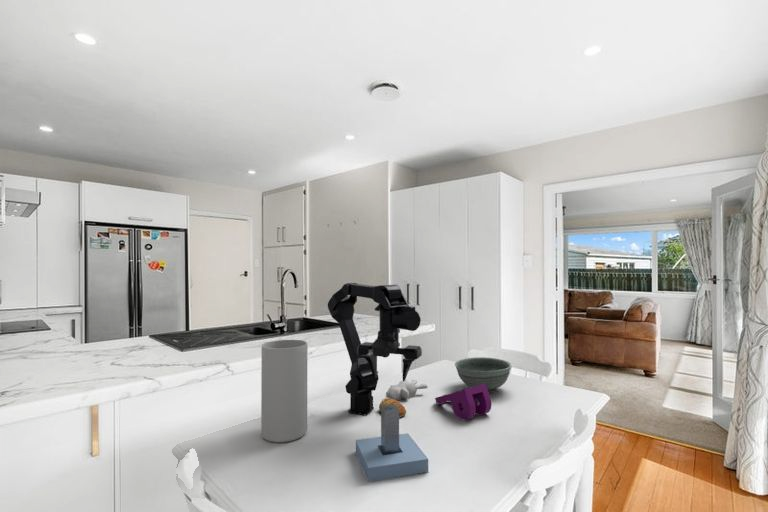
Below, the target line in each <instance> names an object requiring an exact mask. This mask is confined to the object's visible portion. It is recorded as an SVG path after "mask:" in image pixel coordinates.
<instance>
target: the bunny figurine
mask: <svg viewBox="0 0 768 512" xmlns="http://www.w3.org/2000/svg"><path fill="white" fill-rule="evenodd" d="M417 383H418V380H416V379H412V380H411V381H410V380H407V379H405V381H403V380H401V381H400V382H399V383H397V384H392V385H390V386H389V388H388V390H387V391H386V392H385V396H386V398H390V399H392V400H396V401H398V400H400V401H402V399H411V398H413V397H414V396H415V395H416V393H417V391H418V390H422V389H423V390H425V389H427V388H428V384H427V383H420V384H417ZM416 384H417V385H416ZM410 397H411V398H410Z"/></svg>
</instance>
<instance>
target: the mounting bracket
mask: <svg viewBox="0 0 768 512" xmlns="http://www.w3.org/2000/svg"><path fill="white" fill-rule="evenodd" d="M434 399H435V403H436V405H440V404H444V403H447V402H450V403H451V407H452V410H453V413H454V414H455V416H456V417H457V418H459V419H461V420H463V421H466V420H469V419H473V417H475V415H479V416H482V415H486V414H489V412H490V411H491V410H492V403H493V402H492V399H491V396H490V393H489V392H488V389H487V386H486V384H482V385H478V386H474V387H468V388H464V389H460V390H457V391H454V392H450V393H447V394H444V395H440V396H438V397H434Z"/></svg>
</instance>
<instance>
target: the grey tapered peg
mask: <svg viewBox="0 0 768 512" xmlns="http://www.w3.org/2000/svg"><path fill="white" fill-rule="evenodd" d="M399 434H400V417H399V408H398V407H397V406H396V405H395V404H388V405H381V411H380V437H381V453H382V455H388V454H395V453H399Z"/></svg>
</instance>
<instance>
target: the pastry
mask: <svg viewBox="0 0 768 512" xmlns="http://www.w3.org/2000/svg"><path fill="white" fill-rule="evenodd" d="M388 404H395V405H396V406H397V407H398V408H399V418H402V417H405V415H406V414H407V410H406V408H405V406H404V405H403V404H402V403H401V402H400V401H396V400H392V399H390V398H388V397H386V398H384V399H383V400H382V401H381V402H380V404H379V406H378V409H379V411H380V412H381V405H388Z"/></svg>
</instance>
